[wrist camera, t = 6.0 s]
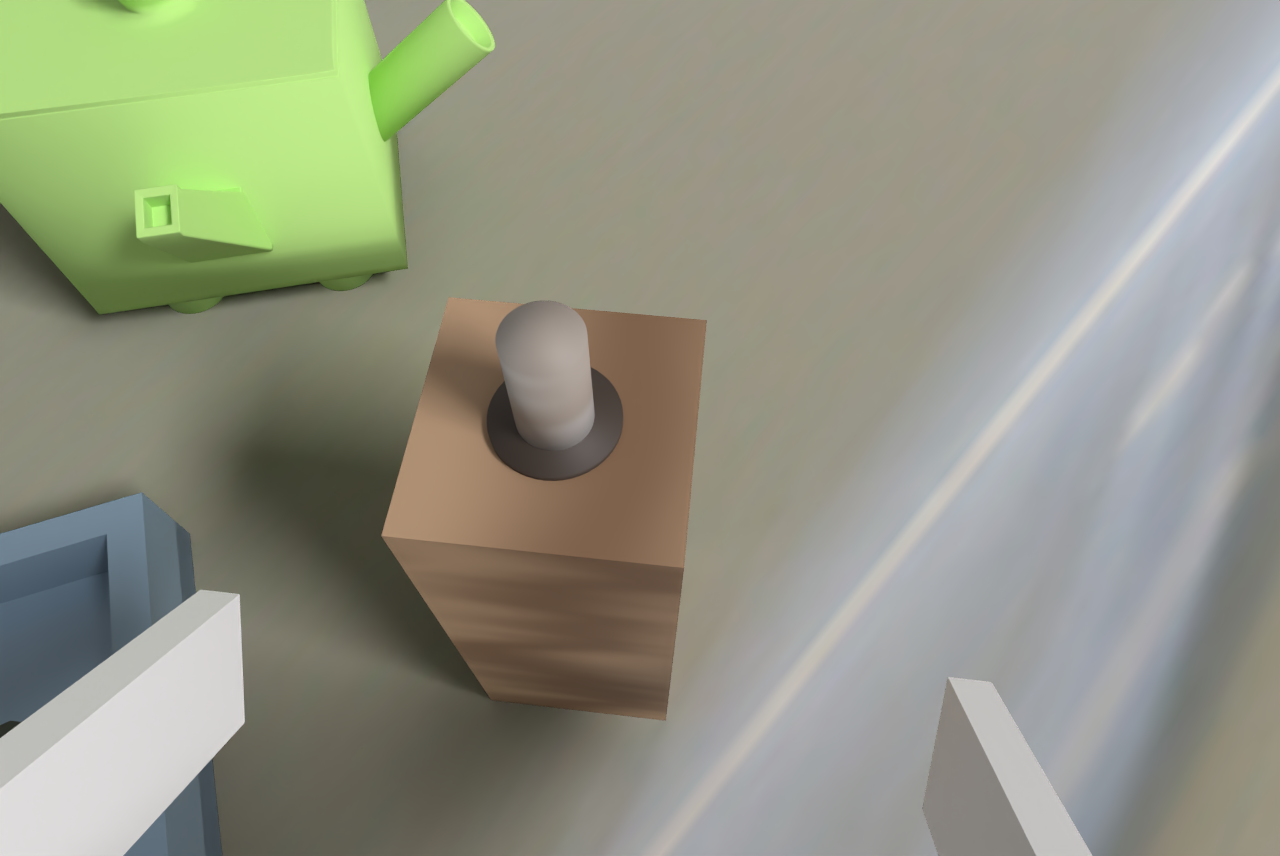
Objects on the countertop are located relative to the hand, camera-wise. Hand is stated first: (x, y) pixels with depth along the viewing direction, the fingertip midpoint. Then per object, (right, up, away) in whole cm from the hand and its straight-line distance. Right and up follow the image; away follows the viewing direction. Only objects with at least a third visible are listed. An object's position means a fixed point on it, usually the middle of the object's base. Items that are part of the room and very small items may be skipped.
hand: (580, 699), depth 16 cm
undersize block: (0, -1, +10) cm, 10 cm away
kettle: (-14, +13, +18) cm, 26 cm away
